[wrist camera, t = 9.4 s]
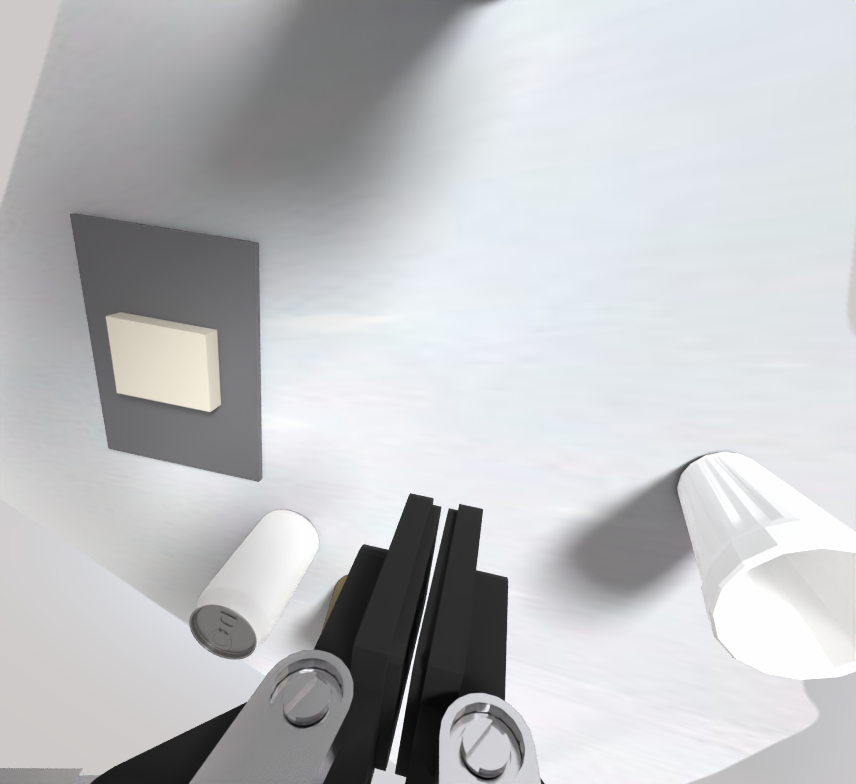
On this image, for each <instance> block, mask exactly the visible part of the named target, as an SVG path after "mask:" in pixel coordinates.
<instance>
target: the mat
mask: <svg viewBox="0 0 856 784" xmlns="http://www.w3.org/2000/svg"><path fill="white" fill-rule="evenodd" d="M70 216H71V222H72V228H73V235H74V241H75V247H76V253H77V259H78V265H79V271H80V277H81V283H82V289H83V296H84V302H85V308H86V314H87V320H88V326H89V332H90V338H91V344H92V350H93V357H94V363H95V369H96V375H97V381H98V387H99V393H100V399H101V405H102V412H103V418H104V424H105V430H106V436H107V442H108V448H109V449H114V450H118V451H123V452H127V453H132V454H136V455H141V456H145V457H150V458H154V459H159V460H163V461H168V462H172V463H177V464H182V465H186V466H191V467H195V468H200V469H204V470H209V471H213V472H218V473H222V474H227V475H231V476H236V477H240V478H245V479H249V480H254V481H258V482H259V481H260V480H261V479H262V440H261V374H260V308H259V243H257V242H251V241H245V240H238V239H232V238H226V237H220V236H213V235H207V234H201V233H194V232H188V231H182V230H176V229H169V228H163V227H157V226H150V225H144V224H138V223H131V222H125V221H119V220H113V219H106V218H100V217H94V216H87V215H81V214H70ZM119 312H123V313H128V314H134V315H139V316H144V317H150V318H155V319H161V320H166V321H172V322H177V323H183V324H188V325H194V326H199V327H204V328H210V329H215V330H217V336H218V355H219V374H220V394H221V405H220V406H219V407H217V408H216V409H214V410H213V411H211V412H207V411H202V410H198V409H193V408H188V407H183V406H178V405H173V404H168V403H163V402H159V401H154V400H149V399H144V398H139V397H134V396H129V395H125V394H120V393H117V390H116V383H115V376H114V370H113V363H112V356H111V349H110V343H109V336H108V329H107V322H106V316H108V315H112V314H116V313H119Z"/></svg>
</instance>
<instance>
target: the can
mask: <svg viewBox="0 0 856 784" xmlns="http://www.w3.org/2000/svg"><path fill="white" fill-rule="evenodd" d="M318 548H319V538H318V534H317V532H316V529H315V528H314V526H313V525H312V523H311V522H310V521H309V520H308V519H307V518H305V517H304V516H302V515H301V514H299V513H297V512H294V511H290V510H275V511H272V512H270V513H268V514H266V515H265V516H264V517H263V518H262V519H261V520H260V522H259V523H258V524H257V525H256V526H255V528H254V529H253V530H252V531H251V533H250V534H249V535H248V536H247V537H246V539H245V540H244V541H243V542H242V544H241V545H240V546H239V547H238V548H237V550H236V551H235V552H234V553H233V555H232V556H231V557H230V558H229V560H228V561H227V562H226V563H225V564H224V566H223V567H222V568H221V569H220V571H219V572H218V573H217V574H216V576H215V577H214V578H213V579H212V581H211V582H210V583H209V584H208V586H207V587H206V588H205V590H204V591H203V592H202V594H201V595H200V597H199V599H198V601H197V605H196V610H195V611H194V612H193V613H192V614H191V617H190V621H189V624H190V629H191V632H192V634H193V636H194V637H195V639H196V640H197V641H198V643H199V644H200V645H202V646H203V647H204V648H205V649H206V650H208V651H209V652H211V653H213V654H215V655H217V656H219V657H223V658H227V659H243V658H246V657H248V656H249V655H251V654H252V653H253V651H254V650H255V648H256V647H257V646H258V645H260V644H261V643H262V642H263V641H265V640H266V638H267V637H268V636H269V634H270V633H271V631H272V629H273V628H274V626H275V624H276V623H277V621H278V619H279V617H280V616H281V614H282V612H283V611H284V609H285V607H286V605H287V604H288V602H289V600H290V598H291V597H292V595H293V593H294V592H295V590H296V588H297V586H298V585H299V583H300V581H301V579H302V578H303V576H304V574H305V572H306V571H307V569H308V567H309V565H310V564H311V562H312V560H313V558H314V557H315V555H316V553H317V551H318Z"/></svg>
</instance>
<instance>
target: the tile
mask: <svg viewBox="0 0 856 784" xmlns="http://www.w3.org/2000/svg"><path fill="white" fill-rule="evenodd" d="M106 322H107V329H108V336H109V343H110V349H111V356H112V363H113V370H114V376H115V383H116V390H117V393H120V394H125V395H129V396H134V397H139V398H144V399H149V400H154V401H159V402H163V403H168V404H173V405H178V406H183V407H188V408H193V409H198V410H202V411H207V412H211V411H213V410H214V409H216V408H217V407H219V406H220V405H221V394H220V374H219V355H218V336H217V330H215V329H210V328H204V327H199V326H194V325H188V324H183V323H177V322H172V321H166V320H161V319H155V318H150V317H144V316H139V315H134V314H128V313H123V312H119V313H116V314H112V315H108V316H106Z"/></svg>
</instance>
